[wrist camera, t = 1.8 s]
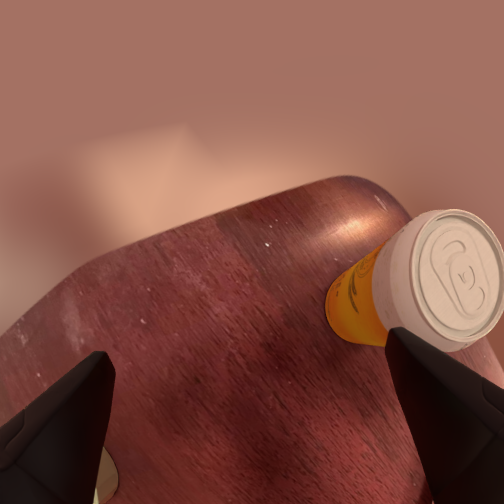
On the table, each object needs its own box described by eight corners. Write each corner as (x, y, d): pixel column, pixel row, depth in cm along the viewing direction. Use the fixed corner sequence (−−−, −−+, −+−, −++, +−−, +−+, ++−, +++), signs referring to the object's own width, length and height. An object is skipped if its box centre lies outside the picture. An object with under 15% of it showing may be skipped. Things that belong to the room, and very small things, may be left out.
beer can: (372, 258, 25) (474, 181, 11) (402, 321, 24) (528, 302, 9) (311, 289, 25) (373, 234, 10) (342, 356, 23) (440, 384, 9)
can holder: (129, 460, 21) (108, 479, 17) (106, 512, 20) (87, 531, 15) (58, 410, 23) (30, 418, 18) (42, 465, 21) (18, 476, 16)
